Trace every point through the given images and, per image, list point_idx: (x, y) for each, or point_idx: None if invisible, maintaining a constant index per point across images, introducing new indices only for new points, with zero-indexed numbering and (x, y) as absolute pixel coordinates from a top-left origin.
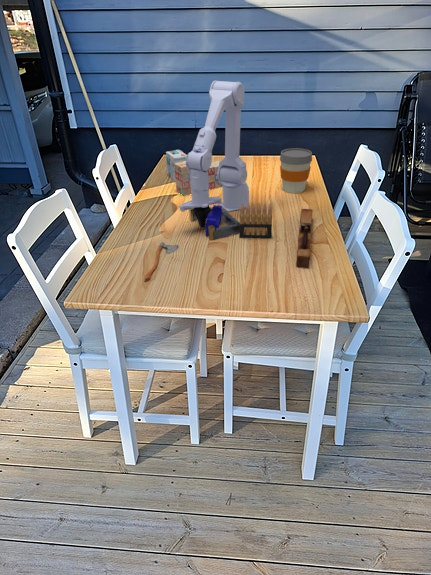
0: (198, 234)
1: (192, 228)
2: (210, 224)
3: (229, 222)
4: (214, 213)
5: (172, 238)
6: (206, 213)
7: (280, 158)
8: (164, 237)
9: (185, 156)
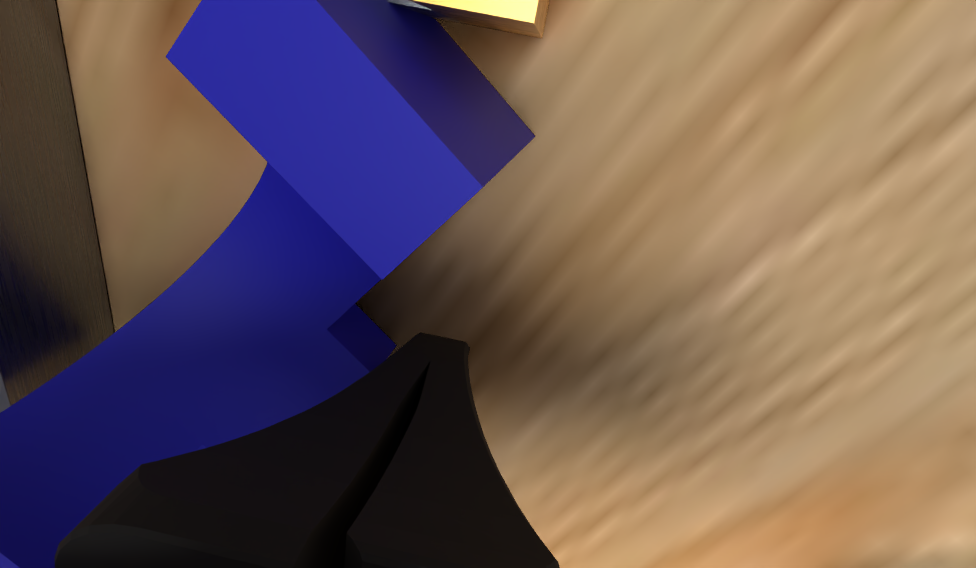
0: (577, 262)
1: (530, 433)
2: (427, 79)
3: (34, 196)
4: (130, 459)
5: (924, 395)
6: (292, 460)
7: None
8: (965, 475)
9: None
